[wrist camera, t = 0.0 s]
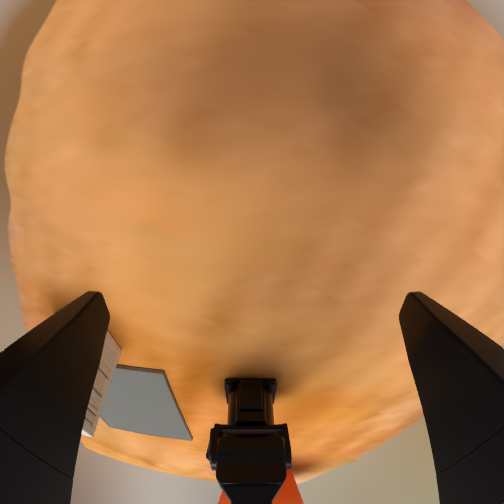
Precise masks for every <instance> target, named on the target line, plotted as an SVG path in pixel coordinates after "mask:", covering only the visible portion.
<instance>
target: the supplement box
mask: <svg viewBox="0 0 504 504" xmlns="http://www.w3.org/2000/svg"><path fill="white" fill-rule="evenodd" d="M54 314H55V313H54ZM120 354H121V349H120V348H119V346H118V345H117V343H116V342H115V341H114V339H113V338H112V336H111V335H110V334H109V332H108V331H107V333H106V338H105V342H104V347H103V352H102V357H101V361H100V365H99V369H98V372H97V375H96V379H95V382H94V386H93V389H92V393H91V397H90V400H89V404H88V408H87V412H86V416H85V420H84V425H83V429H82V434H81V435H86V436H90V437H93V436H94V432H95V428H96V425H97V422H98V418H99V415H100V412H101V409H102V406H103V403H104V400H105V396H106V393H107V391H108V388H109V385H110V382H111V379H112V376H113V373H114V370H115V368H116V365H117V362H118V359H119V357H120Z"/></svg>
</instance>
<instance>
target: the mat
mask: <svg viewBox="0 0 504 504" xmlns="http://www.w3.org/2000/svg"><path fill="white" fill-rule="evenodd" d="M99 416H100V417H101V418H102V420H103V421H104V422H105V423H106V424H107V425H108V426H109V427H112V428H116V429H121V430H125V431H130V432H135V433H140V434H146V435H152V436H158V437H165V438H173V439H181V440H190V441H192V440H193V438H192V436H191V434H190V431H189V429H188V427H187V425H186V423H185V421H184V418H183V416H182V414H181V412H180V409H179V407H178V405H177V402H176V400H175V398H174V395H173V393H172V390H171V388H170V385H169V383H168V380H167V378H166V375H165V373H164V370H155V369H146V368H138V367H130V366H123V365H116V368H115V370H114V373H113V376H112V379H111V382H110V385H109V388H108V391H107V393H106V396H105V400H104V403H103V406H102V409H101V412H100V415H99Z"/></svg>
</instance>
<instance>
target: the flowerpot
mask: <svg viewBox="0 0 504 504" xmlns="http://www.w3.org/2000/svg"><path fill="white" fill-rule="evenodd" d="M218 504H231V502H230V501H229V499H228V498H227V497H226V495H225V494H224V492H223V491H222V493H221V497H220V500H219V503H218ZM272 504H304V503H303V501H302V498H301V495H300V493H299V490H298V487H297V484H296V482H295V479H294V476H293V474H292V471H291V469H290V470H287V477H286V479H285V482H284V484H283V486H282V488H281V489H280V491H279V493H278V494H277V496H276V497H275V499H274V500H273V502H272Z"/></svg>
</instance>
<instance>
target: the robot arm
mask: <svg viewBox="0 0 504 504" xmlns="http://www.w3.org/2000/svg"><path fill="white" fill-rule="evenodd" d="M109 320H110V314H109V311H108V308H107V305H106V303H105V300H104V297H103V295H102V293H101V292H98V291H88V292H86V293H85V294H83V295H82V296H80V297H78V298H77V299H75V300H74V301H72V302H71V303H69V304H68V305H66V306H65V307H63V308H62V309H61V310H59V311H58V312H56V313H55V314H53V315H52V316H50V317H49V318H47V319H46V320H45V321H43V322H42V323H40V324H39V325H37V326H36V327H35V328H33V329H32V330H30V331H29V332H28V333H26V334H25V335H23V336H22V337H21V338H19V339H18V340H17V341H15V342H14V343H13V344H11V345H10V346H8V347H7V348H6V349H4V351H2V352H1V353H0V504H70V501H71V492H72V485H73V477H74V471H75V464H76V459H77V453H78V448H79V443H80V438H81V434H82V429H83V425H84V420H85V416H86V412H87V408H88V404H89V400H90V397H91V393H92V389H93V386H94V382H95V379H96V375H97V372H98V369H99V365H100V361H101V357H102V352H103V347H104V342H105V338H106V333H107V329H108V325H109ZM399 322H400V326H401V330H402V334H403V338H404V342H405V347H406V351H407V356H408V360H409V364H410V367H411V371H412V374H413V377H414V380H415V384H416V387H417V391H418V394H419V398H420V402H421V405H422V409H423V413H424V417H425V421H426V425H427V430H428V434H429V439H430V443H431V448H432V454H433V459H434V465H435V470H436V474H437V475H436V478H437V484H438V492H439V500H440V504H504V349H503V348H502V347H501V346H500V345H498V344H497V343H496V342H494V341H493V340H491V339H490V338H489V337H487V336H486V335H484V334H483V333H482V332H480V331H479V330H477V329H476V328H474V327H473V326H472V325H470V324H469V323H467V322H466V321H464V320H463V319H461V318H460V317H458V316H457V315H455V314H454V313H452V312H451V311H449V310H448V309H446V308H445V307H443V306H442V305H440V304H439V303H437V302H436V301H434V300H433V299H431V298H430V297H428V296H427V295H425V294H423V293H422V292H410V293H408V294H407V296H406V298H405V300H404V303H403V305H402V308H401V310H400V313H399ZM276 385H277V381H276V379H226V380H225V391H226V398H227V404H228V424H227V425H221V424H215V426H214V428H212V429H211V432H210V441H209V445H208V449H207V453H206V458H207V459H208V460H209V461H210V464H211V468H212V470H216V478H217V480H218V483H219V485H220V487H221V489H222V491H223V492H224V494H225V495H226V497H227V498H228V499H229V501H230V502H231V504H272V502H273V500H274V499H275V497H276V496H277V494H278V493H279V491H280V489H281V488H282V486H283V484H284V482H285V479H286V477H287V470H290V469H291V446H290V440H289V434H288V427H287V423H285V424H278V425H274V416H273V404H274V398H275V392H276Z"/></svg>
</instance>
